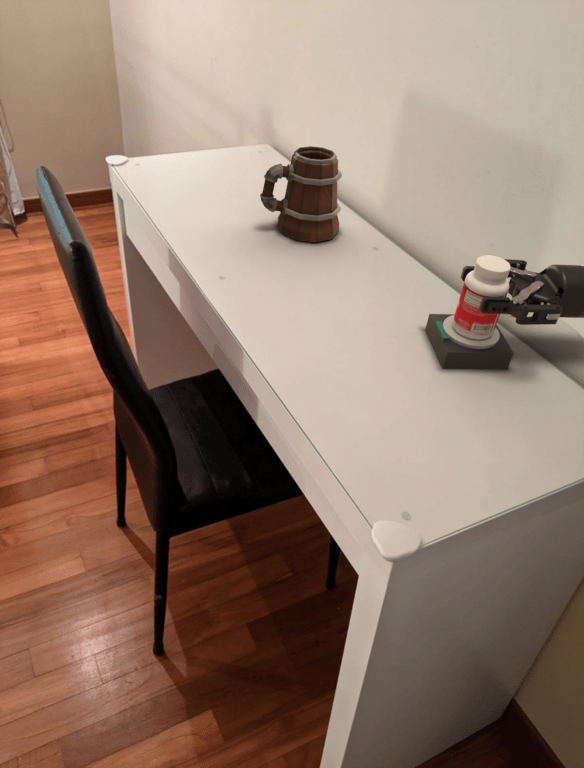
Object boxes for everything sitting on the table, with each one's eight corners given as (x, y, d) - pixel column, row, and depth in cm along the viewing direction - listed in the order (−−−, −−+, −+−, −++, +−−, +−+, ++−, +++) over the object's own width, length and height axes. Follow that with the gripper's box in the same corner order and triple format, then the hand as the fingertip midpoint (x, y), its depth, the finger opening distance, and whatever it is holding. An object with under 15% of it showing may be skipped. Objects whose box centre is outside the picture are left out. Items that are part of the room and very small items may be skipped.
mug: (326, 215, 127) (336, 142, 117) (344, 242, 118) (356, 165, 108) (252, 217, 123) (256, 141, 114) (265, 245, 114) (269, 165, 105)
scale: (485, 330, 98) (491, 311, 95) (507, 369, 90) (515, 349, 88) (425, 329, 97) (430, 310, 94) (442, 368, 89) (448, 348, 87)
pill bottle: (467, 313, 94) (488, 248, 87) (501, 332, 91) (525, 266, 84) (443, 326, 91) (462, 259, 84) (476, 346, 88) (499, 278, 81)
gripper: (566, 245, 91) (463, 241, 89) (613, 295, 81) (496, 292, 79) (549, 288, 96) (450, 286, 94) (591, 341, 85) (480, 339, 83)
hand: (471, 288), depth 86 cm, fingers open, 8 cm apart
